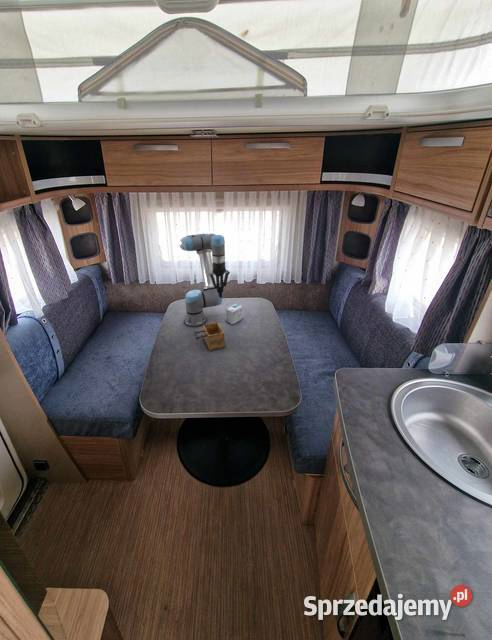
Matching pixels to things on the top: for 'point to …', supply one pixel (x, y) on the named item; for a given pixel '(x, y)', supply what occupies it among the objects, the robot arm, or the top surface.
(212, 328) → the light wood box
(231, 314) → the light bulb box
